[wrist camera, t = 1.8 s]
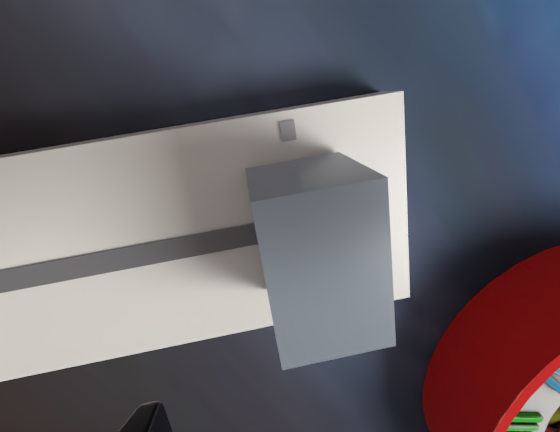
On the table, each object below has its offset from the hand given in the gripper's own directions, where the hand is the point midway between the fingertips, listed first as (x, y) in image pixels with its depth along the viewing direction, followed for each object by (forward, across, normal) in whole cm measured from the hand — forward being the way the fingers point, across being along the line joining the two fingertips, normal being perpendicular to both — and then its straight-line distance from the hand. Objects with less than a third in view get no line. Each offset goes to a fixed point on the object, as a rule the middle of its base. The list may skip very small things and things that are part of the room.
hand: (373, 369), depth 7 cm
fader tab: (+9, 0, 0) cm, 9 cm away
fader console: (+11, +8, 0) cm, 14 cm away
